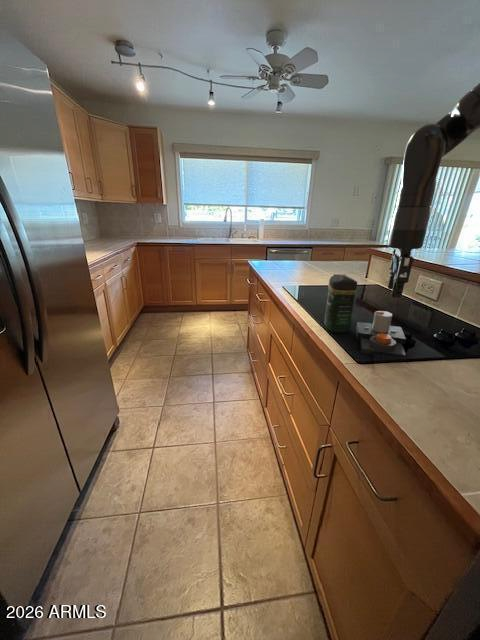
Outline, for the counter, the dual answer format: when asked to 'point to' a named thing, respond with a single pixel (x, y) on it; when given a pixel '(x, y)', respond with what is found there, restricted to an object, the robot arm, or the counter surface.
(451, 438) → the counter surface
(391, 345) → the power block
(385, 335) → the power button
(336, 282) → the coffee jar
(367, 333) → the fryer panel
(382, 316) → the timer knob
